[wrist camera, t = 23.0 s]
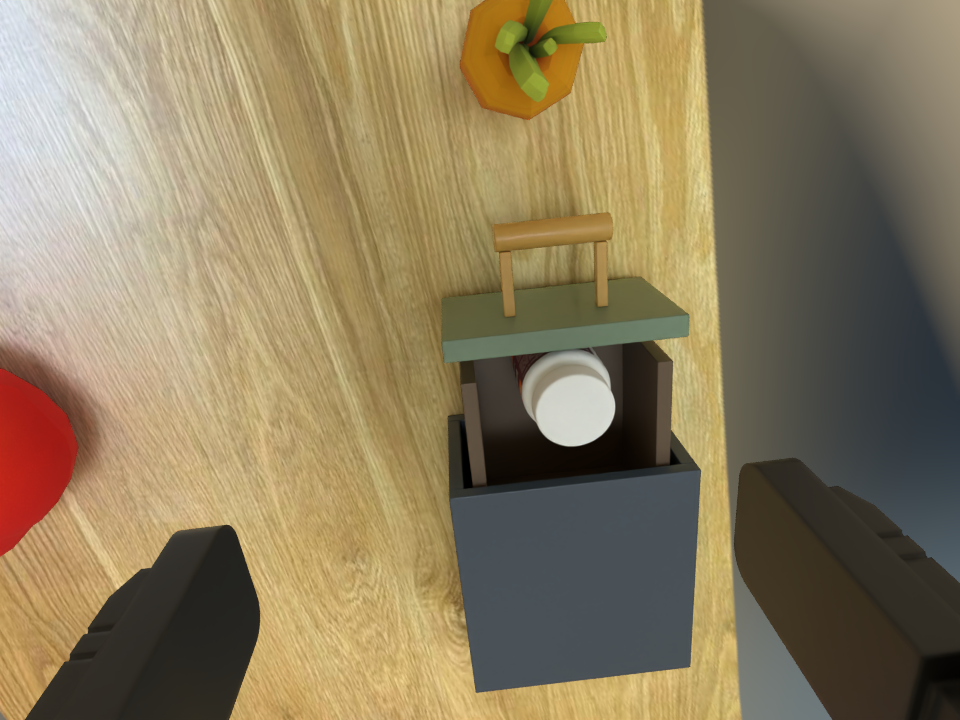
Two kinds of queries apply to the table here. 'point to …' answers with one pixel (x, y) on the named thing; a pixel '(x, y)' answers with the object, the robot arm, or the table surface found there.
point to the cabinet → (575, 570)
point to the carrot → (524, 54)
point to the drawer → (554, 327)
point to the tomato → (30, 457)
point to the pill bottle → (566, 394)
